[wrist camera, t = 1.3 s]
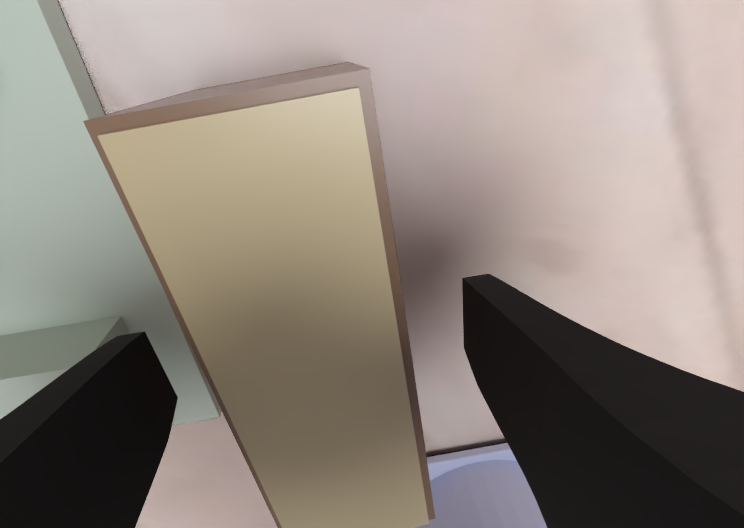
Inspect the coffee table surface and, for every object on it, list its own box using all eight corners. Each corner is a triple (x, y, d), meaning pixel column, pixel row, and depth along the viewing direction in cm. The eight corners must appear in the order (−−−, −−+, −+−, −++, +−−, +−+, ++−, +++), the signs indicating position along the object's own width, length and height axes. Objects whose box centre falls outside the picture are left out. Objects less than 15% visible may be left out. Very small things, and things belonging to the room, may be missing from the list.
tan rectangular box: (400, 374, 16) (437, 526, 11) (299, 394, 16) (287, 557, 11) (347, 62, 10) (371, 68, 5) (195, 89, 10) (75, 123, 5)
